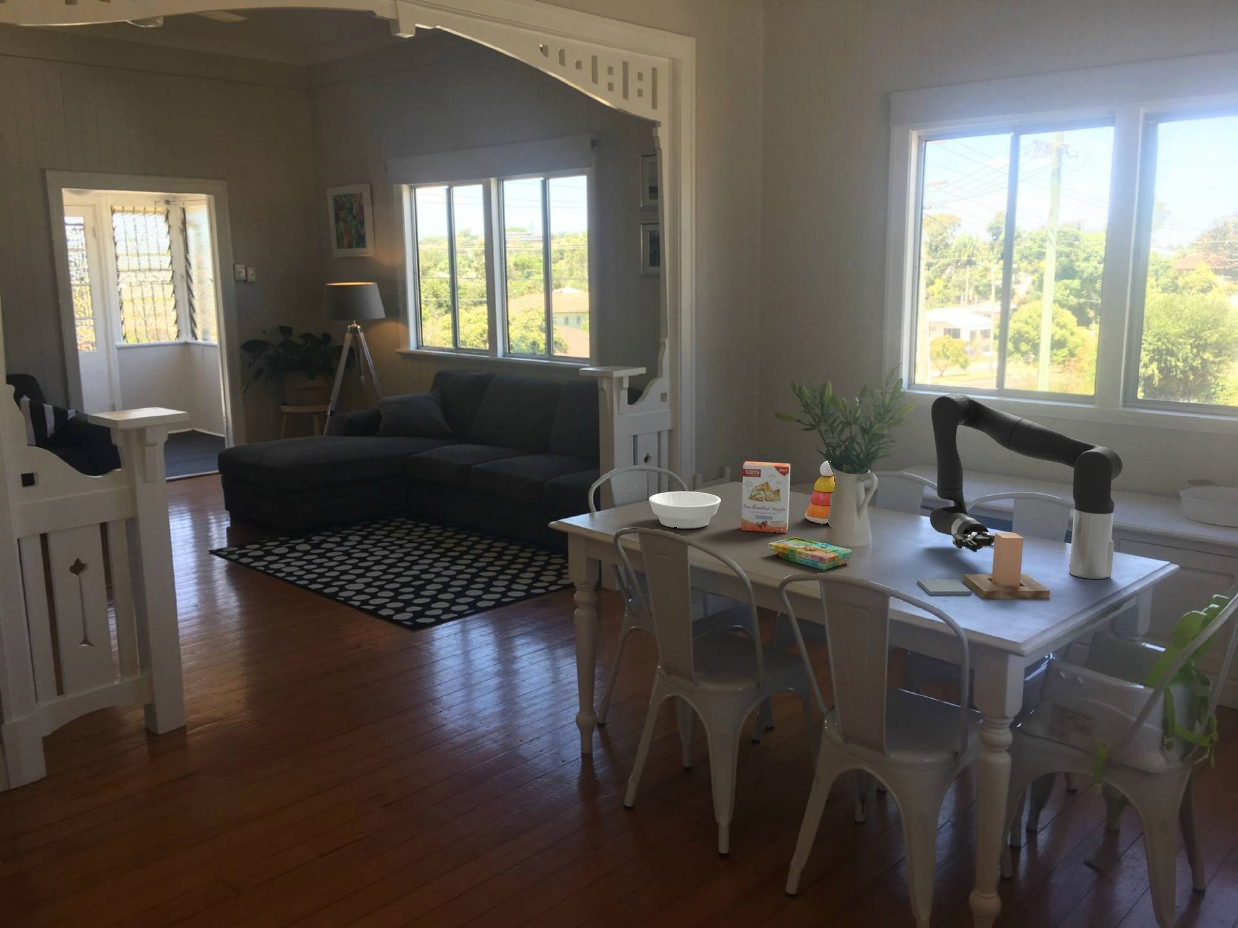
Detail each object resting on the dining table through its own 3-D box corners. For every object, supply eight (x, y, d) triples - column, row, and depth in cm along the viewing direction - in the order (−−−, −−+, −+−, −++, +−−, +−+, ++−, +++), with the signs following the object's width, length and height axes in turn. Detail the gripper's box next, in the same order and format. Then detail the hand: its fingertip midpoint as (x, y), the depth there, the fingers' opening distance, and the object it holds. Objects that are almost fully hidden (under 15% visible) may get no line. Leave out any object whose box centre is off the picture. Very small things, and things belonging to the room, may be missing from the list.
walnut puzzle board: (1025, 581, 256) (1026, 573, 256) (1049, 598, 243) (1050, 590, 242) (963, 581, 256) (963, 574, 256) (983, 598, 242) (984, 590, 242)
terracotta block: (1011, 586, 252) (1015, 532, 249) (1019, 593, 247) (1023, 537, 244) (991, 587, 252) (995, 532, 249) (999, 593, 247) (1003, 537, 244)
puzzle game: (825, 555, 264) (767, 540, 279) (824, 572, 265) (767, 556, 280) (852, 547, 272) (795, 533, 287) (851, 564, 272) (794, 549, 287)
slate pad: (956, 582, 255) (956, 579, 255) (970, 595, 245) (971, 591, 245) (917, 583, 255) (917, 579, 255) (930, 595, 245) (930, 591, 245)
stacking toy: (838, 514, 329) (841, 456, 325) (858, 525, 315) (860, 464, 312) (797, 517, 326) (799, 457, 322) (815, 527, 312) (817, 465, 309)
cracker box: (740, 531, 307) (742, 464, 303) (743, 526, 313) (744, 460, 309) (787, 534, 304) (789, 466, 300) (788, 529, 310) (790, 462, 306)
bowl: (717, 516, 327) (718, 491, 325) (723, 533, 305) (723, 506, 303) (648, 516, 327) (648, 491, 326) (648, 533, 305) (649, 506, 304)
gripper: (944, 519, 272) (965, 534, 257) (996, 519, 273) (1021, 534, 257) (942, 546, 274) (963, 562, 258) (994, 546, 274) (1019, 562, 258)
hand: (992, 548), depth 257 cm, fingers open, 8 cm apart
